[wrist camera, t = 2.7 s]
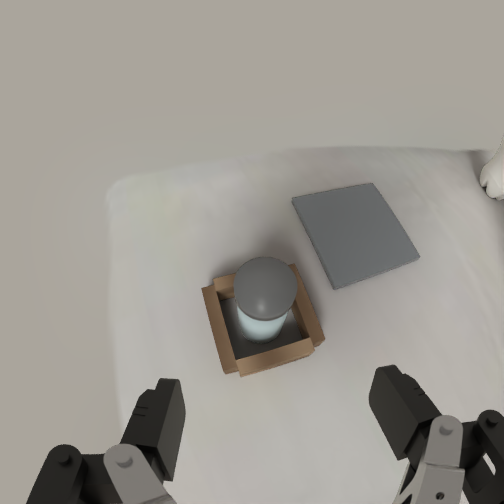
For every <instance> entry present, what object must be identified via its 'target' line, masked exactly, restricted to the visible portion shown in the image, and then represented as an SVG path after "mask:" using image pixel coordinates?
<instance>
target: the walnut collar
mask: <svg viewBox="0 0 504 504" xmlns="http://www.w3.org/2000/svg"><path fill="white" fill-rule="evenodd" d="M288 266H289V267H290V268H291V270H292V271H293V272H294V274H295V276H296V279H297V294H296V297H295V299H294V302H293V304H292V306H291V309H292V312H293V314H294V317H295V320H296V322H297V325H298V328H299V330H300V333H301V336H302V338H303V340H301V341H298V342H295V343H292V344H289V345H285V346H282V347H279V348H276V349H273V350H269V351H266V352H263V353H259V354H256V355H252V356H249V357H245V358H242V359H238V360H235V356H234V353H233V350H232V346H231V343H230V339H229V336H228V332H227V329H226V325H225V322H224V318H223V315H222V311H221V307H220V304H219V301H221V300H225V299H229V298H233V297H235V296H234V286H233V285H234V278H235V275H236V273H234V274H230V275H226V276H222V277H218V278H214V279H213V281H214V285H211V286H208V287H204V288H202V293H203V297H204V301H205V305H206V309H207V313H208V317H209V321H210V325H211V328H212V332H213V336H214V340H215V343H216V347H217V351H218V354H219V358H220V361H221V365H222V368H223V371H224V373H225V374H229V373H233V372H237V371H239V373H240V376H241V377H243V376H247V375H250V374H254V373H257V372H261V371H264V370H267V369H271V368H274V367H277V366H280V365H283V364H286V363H289V362H293V361H295V360H298V359H301V358H304V357H307V356H309V355H310V354H312V353H313V352H314V351H315V349H314V347H316V346H319V345H320V344H321V343H322V342H323V341H324V340H325V337H324V334H323V332H322V329H321V327H320V324H319V321H318V319H317V316H316V314H315V311H314V309H313V307H312V304H311V302H310V299H309V297H308V294H307V292H306V289H305V287H304V285H303V282H302V280H301V277H300V275H299V273H298V270H297V268H296V265H295V264H291V265H288Z"/></svg>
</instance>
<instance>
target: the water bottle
mask: <svg viewBox="0 0 504 504" xmlns="http://www.w3.org/2000/svg"><path fill="white" fill-rule="evenodd" d="M480 184H481V186H482V187H485V186H487V189H486V193H487V195H488V196H489V197H490V198H496V199H497V200H502V199H504V135H503V140H502V142H501V145H500V147H499V149H498V151H497V153H496V154H495V156H494V157H493V158H492V160H491V161H490V162H488V163H487V164H486V165H484V167H483V169H482V171H481V174H480Z"/></svg>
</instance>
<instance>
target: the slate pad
mask: <svg viewBox="0 0 504 504" xmlns="http://www.w3.org/2000/svg"><path fill="white" fill-rule="evenodd" d="M292 203H293V205H294V207H295V209H296V211H297V213H298V215H299V217H300V219H301V221H302V223H303V225H304V227H305V229H306V231H307V234H308V236H309V238H310V240H311V242H312V244H313V246H314V248H315V250H316V252H317V254H318V257H319V259H320V261H321V263H322V265H323V267H324V269H325V272H326V274H327V276H328V278H329V280H330V283H331V285H332V287H333V289H334V290H335V289H338V288H341V287H344V286H347V285H350V284H352V283H355V282H358V281H361V280H364V279H367V278H370V277H372V276H375V275H378V274H381V273H384V272H386V271H389V270H392V269H394V268H397V267H400V266H402V265H405V264H408V263H410V262H413V261H415V260H418V259H419V258H420V256H419V254H418V252H417V250H416V249H415V247H414V245H413V244H412V242H411V240H410V239H409V237H408V235H407V234H406V232H405V230H404V229H403V227H402V226H401V224H400V222H399V221H398V219H397V218H396V216H395V215H394V213H393V212H392V210H391V209H390V207H389V206H388V204H387V203H386V201H385V200H384V198H383V197H382V195H381V194H380V192H379V191H378V190H377V188H376V187H375V185H374V184H373V183H370V184H364V185H358V186H353V187H347V188H342V189H336V190H331V191H325V192H320V193H315V194H310V195H305V196H300V197H295V198H292Z"/></svg>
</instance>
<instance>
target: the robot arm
mask: <svg viewBox="0 0 504 504" xmlns="http://www.w3.org/2000/svg"><path fill="white" fill-rule="evenodd" d="M369 404H370V407H371V409H372V411H373V413H374V415H375V417H376V419H377V421H378V423H379V425H380V427H381V429H382V431H383V433H384V435H385V436H386V438H387V440H388V442H389V444H390V446H391V448H392V450H393V452H394V454H395V456H396V458H397V460H401V459H404V458H407V457H408V459H409V463H408V464H407V467H406V470H405V473H404V476H403V479H402V481H401V484H400V487H399V490H398V492H397V495H396V497H395V499H394V501H393V503H392V504H459V502H460V497H461V492H462V490H463V492H464V494H465V496H466V498H467V500H468V502H469V504H504V417H503V416H502V415H501V414H500V413H499V412H497V411H494V410H486V411H483V412H482V413H481V414H480V415H479V417H478V419H477V420H476V421H472V422H464V423H461V422H460V421H459V420H458V419H457V418H455V417H453V416H449V415H442V414H441V413H440V412H439V410H438V409H437V408H436V406H435V405H434V404H433V402H432V401H431V400H430V398H429V397H428V396H427V395H426V394H425V392H424V391H423V389H422V388H420V386H419V384H418V383H417V382H416V380H415V379H413V378H412V377H410V376H409V375H407V374H402V373H401V372H400V370H399V369H398V368H397V366H396V365H389V366H384V367H378V368H377V369H376V371H375V375H374V379H373V382H372V386H371V390H370V393H369ZM185 414H186V412H185V404H184V399H183V395H182V390H181V385H180V381H179V379H167V378H160V379H159V381H158V383H157V386H156V389H155V390H151V389H147V390H146V391H145V392H144V393H143V394H142V395H141V396H140V397H139V399H138V401H137V403H136V406H135V408H134V410H133V413H132V415H131V417H130V420H129V422H128V425H127V427H126V430H125V432H124V435H123V437H122V439H121V442H120V444H118V445H115V446H113V447H111V448H109V449H108V450H107V452H106V453H105V454H91V455H89V454H81V453H80V452H79V450H78V449H77V448H75V447H74V446H71V445H66V444H63V445H58V446H56V447H54V448H53V449H52V450H51V451H50V452H49V454H48V456H47V458H46V460H45V462H44V464H43V466H42V468H41V471H40V473H39V475H38V477H37V479H36V482H35V484H34V486H33V488H32V491H31V493H30V495H29V498H28V500H27V503H26V504H177V503H176V502H175V501H174V499H173V498H172V497H171V496H170V495H169V494H168V492H167V491H166V490H165V488H164V487H163V482H164V480H165V481H172V482H173V477H174V472H175V467H176V462H177V457H178V451H179V447H180V442H181V437H182V432H183V427H184V422H185ZM485 453H487V455H488V456H489V458H490V459H491V461H492V463H493V464H494V466H495V469H496V472H495V475H493V473H492V471H491V470H490V468H489V466H488V465H487V463H486V462H485V460H484V458H483V456H484V455H485Z"/></svg>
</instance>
